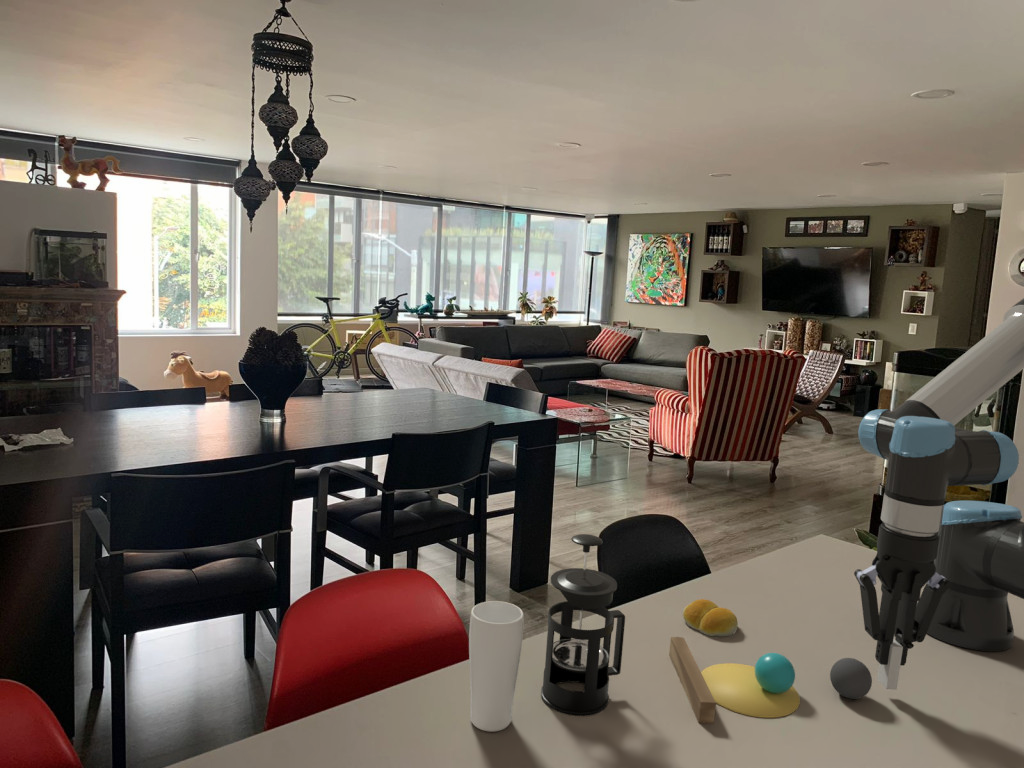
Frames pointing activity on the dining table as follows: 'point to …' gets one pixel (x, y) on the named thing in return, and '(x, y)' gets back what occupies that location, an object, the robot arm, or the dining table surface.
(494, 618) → the drinking glass
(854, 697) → the ball
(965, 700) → the dining table surface
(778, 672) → the ball
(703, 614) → the bread roll
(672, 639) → the wall
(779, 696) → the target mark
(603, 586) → the french press
